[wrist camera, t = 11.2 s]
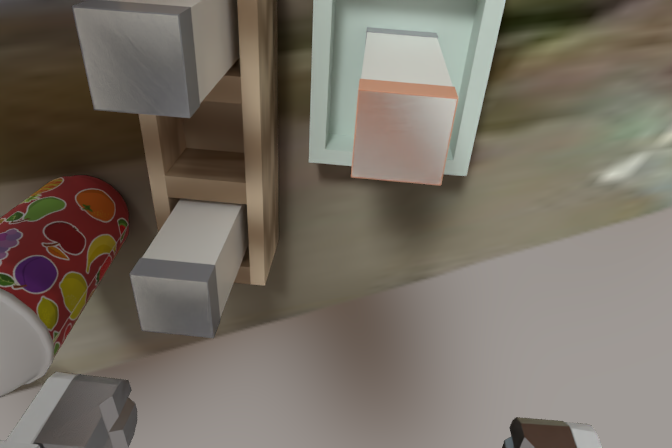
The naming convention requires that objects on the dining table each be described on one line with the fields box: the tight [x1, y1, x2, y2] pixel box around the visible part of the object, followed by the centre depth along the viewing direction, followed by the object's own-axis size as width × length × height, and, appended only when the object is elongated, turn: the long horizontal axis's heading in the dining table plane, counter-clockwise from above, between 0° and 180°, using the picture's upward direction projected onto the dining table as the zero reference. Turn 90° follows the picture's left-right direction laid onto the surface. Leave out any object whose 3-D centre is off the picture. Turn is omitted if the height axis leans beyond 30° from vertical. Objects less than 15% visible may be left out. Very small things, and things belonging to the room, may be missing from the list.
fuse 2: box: [130, 198, 249, 338], centre depth 32 cm, size 4×4×11 cm
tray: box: [309, 0, 506, 176], centre depth 31 cm, size 12×10×3 cm
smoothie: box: [0, 175, 129, 397], centre depth 32 cm, size 8×8×20 cm
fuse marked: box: [351, 27, 458, 186], centre depth 27 cm, size 4×4×11 cm
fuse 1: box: [72, 0, 240, 118], centre depth 25 cm, size 4×4×11 cm
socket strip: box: [139, 0, 279, 286], centre depth 32 cm, size 21×7×6 cm, turn 177°
